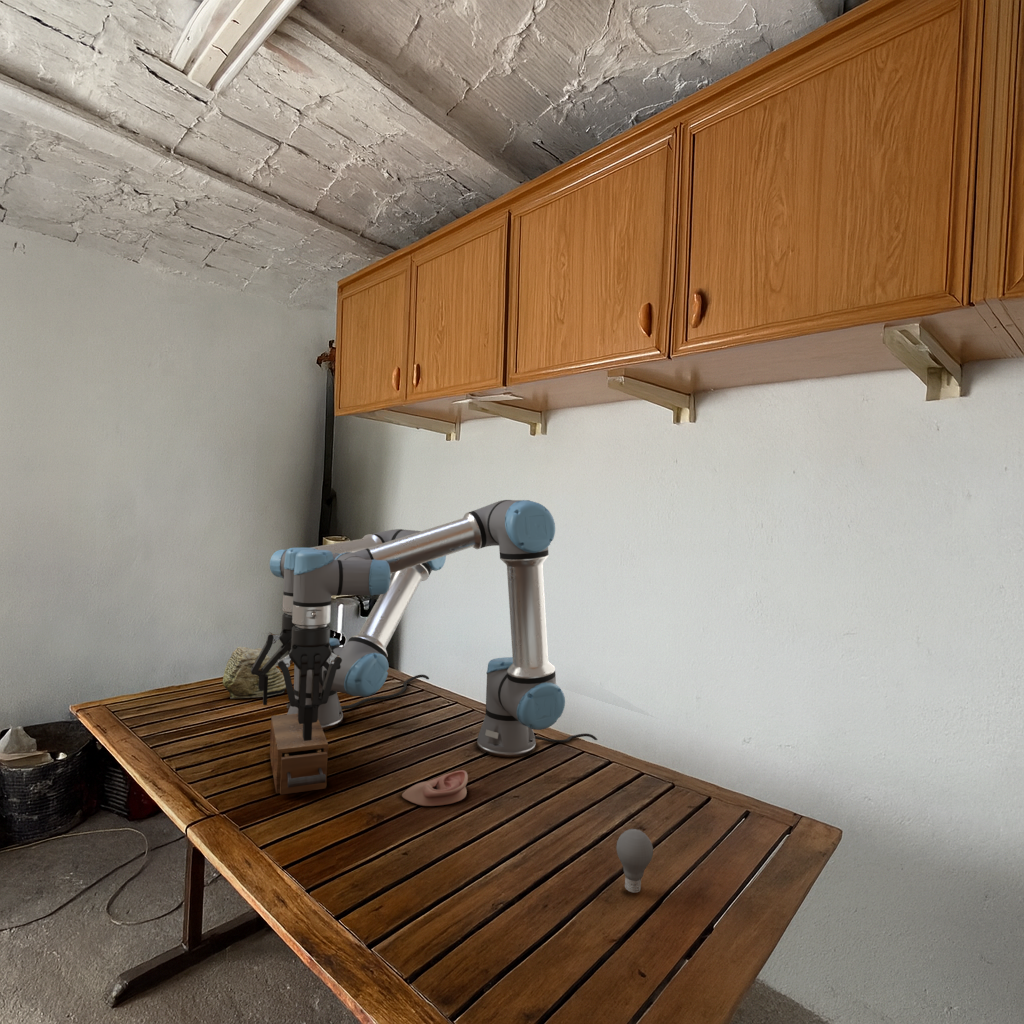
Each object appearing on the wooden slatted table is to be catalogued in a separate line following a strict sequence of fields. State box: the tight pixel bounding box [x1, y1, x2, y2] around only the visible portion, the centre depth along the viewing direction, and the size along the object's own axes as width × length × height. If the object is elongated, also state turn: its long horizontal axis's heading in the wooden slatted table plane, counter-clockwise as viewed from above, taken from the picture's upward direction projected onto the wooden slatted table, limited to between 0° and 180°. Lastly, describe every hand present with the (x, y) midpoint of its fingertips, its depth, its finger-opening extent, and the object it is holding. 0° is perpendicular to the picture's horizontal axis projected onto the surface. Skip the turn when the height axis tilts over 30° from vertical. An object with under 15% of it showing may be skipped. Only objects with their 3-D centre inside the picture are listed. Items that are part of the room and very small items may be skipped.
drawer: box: [279, 749, 328, 796], centre depth 140 cm, size 26×9×8 cm, turn 24°
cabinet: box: [269, 714, 329, 794], centre depth 146 cm, size 22×10×10 cm, turn 24°
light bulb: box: [615, 828, 654, 894], centre depth 106 cm, size 6×6×10 cm
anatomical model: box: [401, 769, 469, 807], centre depth 137 cm, size 13×4×12 cm
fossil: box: [222, 646, 287, 699], centre depth 198 cm, size 9×18×15 cm, turn 132°
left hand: (295, 700), depth 152 cm, fingers open, 13 cm apart
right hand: (306, 738), depth 131 cm, fingers closed
